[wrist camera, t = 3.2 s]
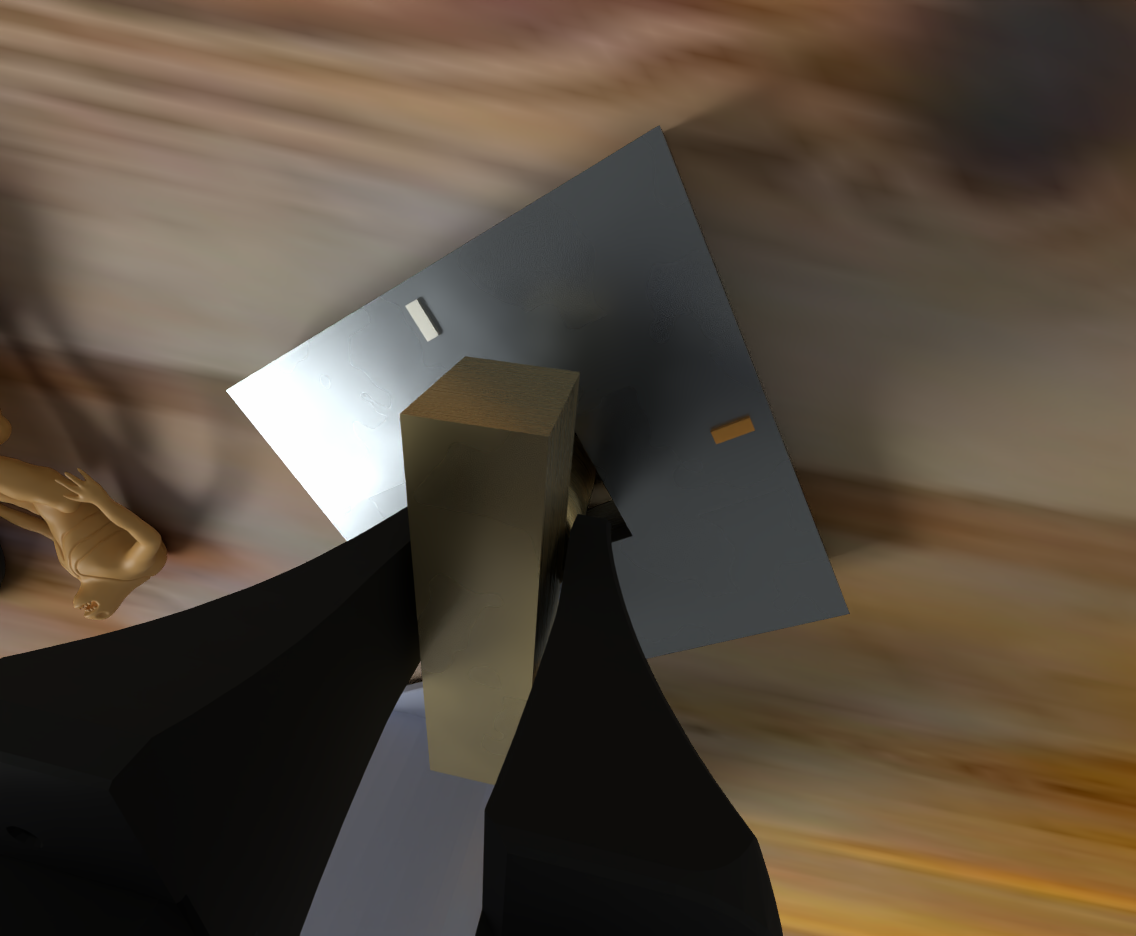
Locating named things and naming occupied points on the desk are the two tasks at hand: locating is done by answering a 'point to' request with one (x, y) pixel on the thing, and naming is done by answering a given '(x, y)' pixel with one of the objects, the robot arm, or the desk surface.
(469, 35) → the desk surface
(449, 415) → the t key
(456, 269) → the key plate
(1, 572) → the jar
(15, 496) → the figurine
